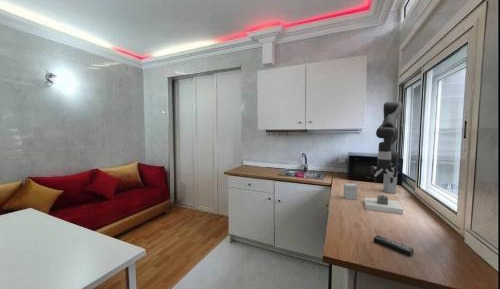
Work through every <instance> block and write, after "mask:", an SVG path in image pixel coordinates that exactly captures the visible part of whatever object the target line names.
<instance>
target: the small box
mask: <svg viewBox="0 0 500 289" xmlns="http://www.w3.org/2000/svg"><path fill="white" fill-rule="evenodd" d="M343 198H345V200H358V185H357V184H356V183H343Z"/></svg>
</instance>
